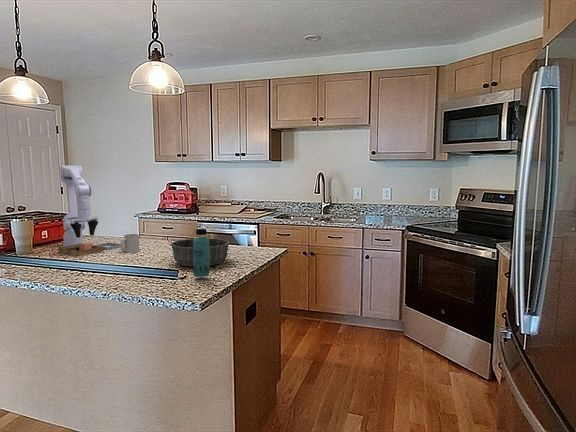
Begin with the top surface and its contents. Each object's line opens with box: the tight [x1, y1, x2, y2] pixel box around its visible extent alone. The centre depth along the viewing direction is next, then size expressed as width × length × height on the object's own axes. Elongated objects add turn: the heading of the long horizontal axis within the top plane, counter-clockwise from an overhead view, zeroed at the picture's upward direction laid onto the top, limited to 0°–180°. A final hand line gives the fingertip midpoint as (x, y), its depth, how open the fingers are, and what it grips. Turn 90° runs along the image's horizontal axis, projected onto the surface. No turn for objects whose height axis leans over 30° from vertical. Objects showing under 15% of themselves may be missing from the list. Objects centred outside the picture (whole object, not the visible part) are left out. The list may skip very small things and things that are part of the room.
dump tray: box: [94, 242, 121, 251], centre depth 217 cm, size 11×10×2 cm
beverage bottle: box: [192, 228, 211, 278], centre depth 159 cm, size 6×7×20 cm
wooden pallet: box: [58, 244, 105, 258], centre depth 203 cm, size 15×14×4 cm
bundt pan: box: [170, 237, 230, 267], centre depth 186 cm, size 26×26×10 cm
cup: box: [119, 233, 140, 254], centre depth 207 cm, size 7×10×9 cm
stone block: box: [79, 241, 93, 251], centre depth 202 cm, size 4×4×5 cm
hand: (85, 236), depth 201 cm, fingers open, 7 cm apart
